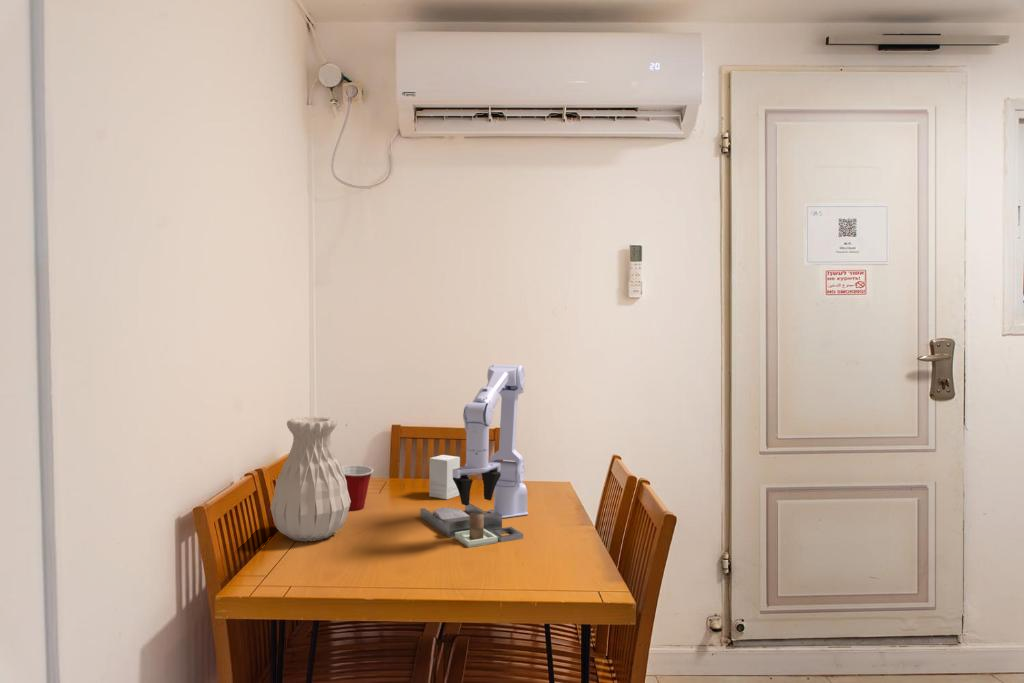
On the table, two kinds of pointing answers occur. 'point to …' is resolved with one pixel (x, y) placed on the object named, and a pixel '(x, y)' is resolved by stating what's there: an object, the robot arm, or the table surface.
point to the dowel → (476, 526)
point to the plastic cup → (357, 484)
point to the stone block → (449, 513)
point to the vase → (310, 484)
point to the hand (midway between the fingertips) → (476, 502)
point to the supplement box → (443, 476)
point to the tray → (487, 539)
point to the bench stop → (461, 521)
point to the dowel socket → (513, 536)
